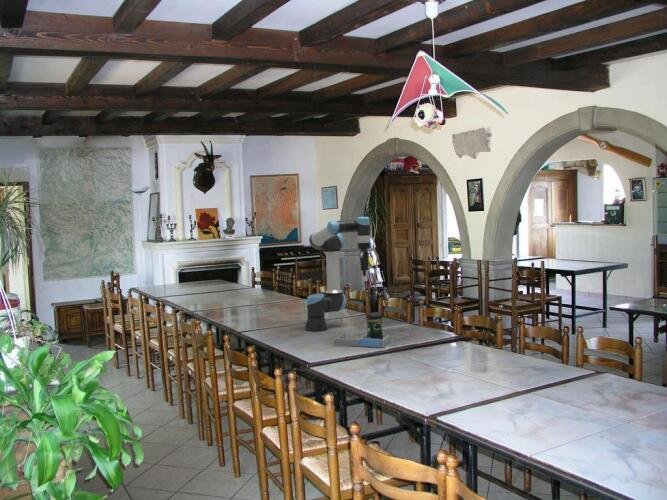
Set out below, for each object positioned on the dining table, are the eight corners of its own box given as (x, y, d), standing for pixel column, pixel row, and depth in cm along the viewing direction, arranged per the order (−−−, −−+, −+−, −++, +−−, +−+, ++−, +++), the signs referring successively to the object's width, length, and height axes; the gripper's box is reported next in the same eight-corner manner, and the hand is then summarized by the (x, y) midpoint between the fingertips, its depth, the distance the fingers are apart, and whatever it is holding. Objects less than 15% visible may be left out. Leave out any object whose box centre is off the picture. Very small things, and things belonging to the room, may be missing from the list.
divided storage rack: (343, 339, 403) (342, 331, 402) (390, 341, 393) (390, 333, 392) (333, 345, 386) (333, 337, 386) (383, 348, 376) (383, 340, 376)
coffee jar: (378, 340, 395) (378, 310, 394) (385, 343, 388) (384, 312, 386) (364, 342, 391) (363, 312, 390) (370, 345, 384) (369, 314, 382)
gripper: (361, 241, 402) (362, 279, 404) (354, 243, 390) (355, 282, 392) (372, 241, 399) (373, 279, 401) (366, 243, 387) (367, 282, 389)
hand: (365, 280), depth 396 cm, fingers closed
